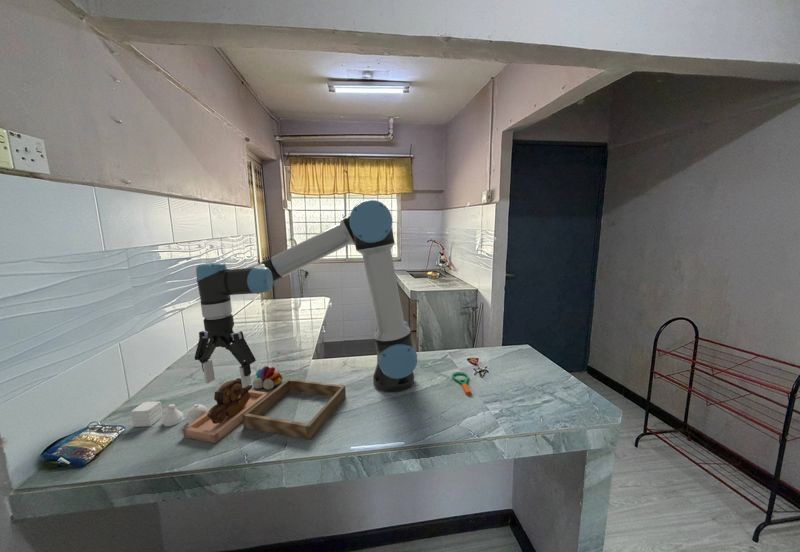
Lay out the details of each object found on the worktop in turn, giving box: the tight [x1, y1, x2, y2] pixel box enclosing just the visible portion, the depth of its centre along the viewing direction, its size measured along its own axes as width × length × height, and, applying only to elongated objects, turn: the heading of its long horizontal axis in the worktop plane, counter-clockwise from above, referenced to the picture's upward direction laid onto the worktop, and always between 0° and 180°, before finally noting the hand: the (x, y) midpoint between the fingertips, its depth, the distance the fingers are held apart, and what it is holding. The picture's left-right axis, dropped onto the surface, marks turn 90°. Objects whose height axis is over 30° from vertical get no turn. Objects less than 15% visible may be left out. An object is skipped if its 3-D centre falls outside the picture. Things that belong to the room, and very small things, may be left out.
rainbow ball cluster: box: [252, 365, 284, 391], centre depth 114 cm, size 8×10×7 cm
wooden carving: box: [207, 377, 253, 424], centre depth 95 cm, size 16×5×10 cm, turn 172°
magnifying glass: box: [451, 371, 472, 396], centre depth 112 cm, size 15×6×2 cm, turn 3°
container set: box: [130, 400, 208, 428], centre depth 94 cm, size 20×5×6 cm, turn 91°
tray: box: [182, 389, 270, 444], centre depth 96 cm, size 11×22×2 cm, turn 164°
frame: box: [242, 378, 347, 441], centre depth 98 cm, size 22×22×4 cm
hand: (228, 383), depth 94 cm, fingers open, 13 cm apart
